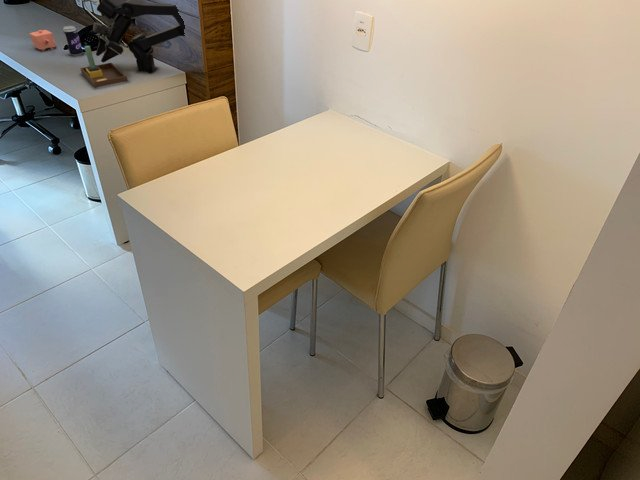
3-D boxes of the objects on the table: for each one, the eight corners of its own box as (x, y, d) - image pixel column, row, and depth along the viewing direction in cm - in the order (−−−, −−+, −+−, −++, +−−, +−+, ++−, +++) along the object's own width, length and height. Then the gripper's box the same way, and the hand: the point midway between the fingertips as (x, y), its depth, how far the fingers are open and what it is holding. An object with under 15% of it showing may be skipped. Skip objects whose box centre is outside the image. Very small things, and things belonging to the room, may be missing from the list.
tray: (81, 74, 208) (80, 68, 207) (112, 68, 215) (111, 62, 213) (95, 88, 197) (93, 82, 195) (127, 82, 203) (126, 76, 201)
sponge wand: (99, 72, 209) (91, 43, 202) (102, 76, 206) (95, 47, 198) (87, 74, 207) (79, 45, 199) (90, 78, 204) (82, 49, 196)
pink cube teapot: (43, 53, 228) (37, 35, 222) (32, 47, 234) (26, 29, 229) (60, 49, 232) (54, 31, 227) (49, 43, 238) (43, 26, 233)
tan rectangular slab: (106, 81, 202) (105, 78, 201) (108, 82, 200) (108, 80, 199) (96, 83, 200) (96, 80, 199) (99, 85, 198) (98, 82, 197)
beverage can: (74, 57, 225) (66, 30, 217) (67, 54, 227) (59, 27, 220) (85, 54, 228) (78, 27, 221) (79, 51, 231) (71, 24, 223)
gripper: (96, 9, 202) (76, 40, 204) (107, 20, 190) (86, 53, 192) (120, 26, 210) (100, 56, 212) (132, 38, 198) (111, 69, 200)
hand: (99, 58), depth 204 cm, fingers open, 9 cm apart
